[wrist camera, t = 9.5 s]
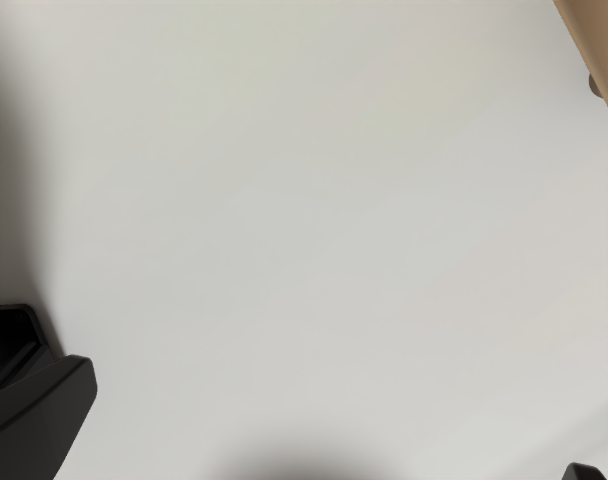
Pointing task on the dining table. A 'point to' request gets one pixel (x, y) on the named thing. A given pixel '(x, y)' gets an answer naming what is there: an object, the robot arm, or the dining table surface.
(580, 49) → the stool
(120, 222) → the dining table surface
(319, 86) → the dining table surface
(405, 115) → the dining table surface
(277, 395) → the dining table surface
